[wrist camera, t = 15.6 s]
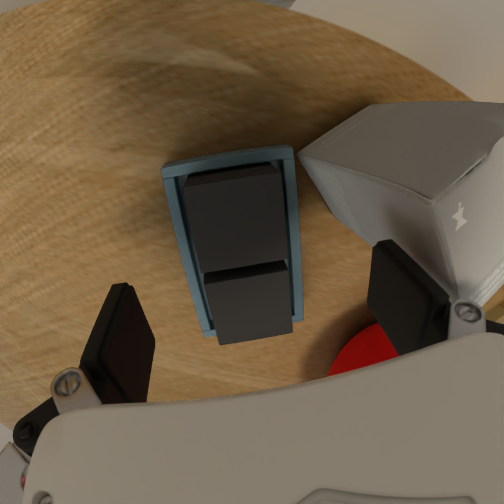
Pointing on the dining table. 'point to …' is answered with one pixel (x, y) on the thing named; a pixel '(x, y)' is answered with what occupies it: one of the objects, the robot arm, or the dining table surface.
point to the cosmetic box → (422, 186)
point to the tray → (173, 184)
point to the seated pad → (250, 301)
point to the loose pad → (237, 216)
